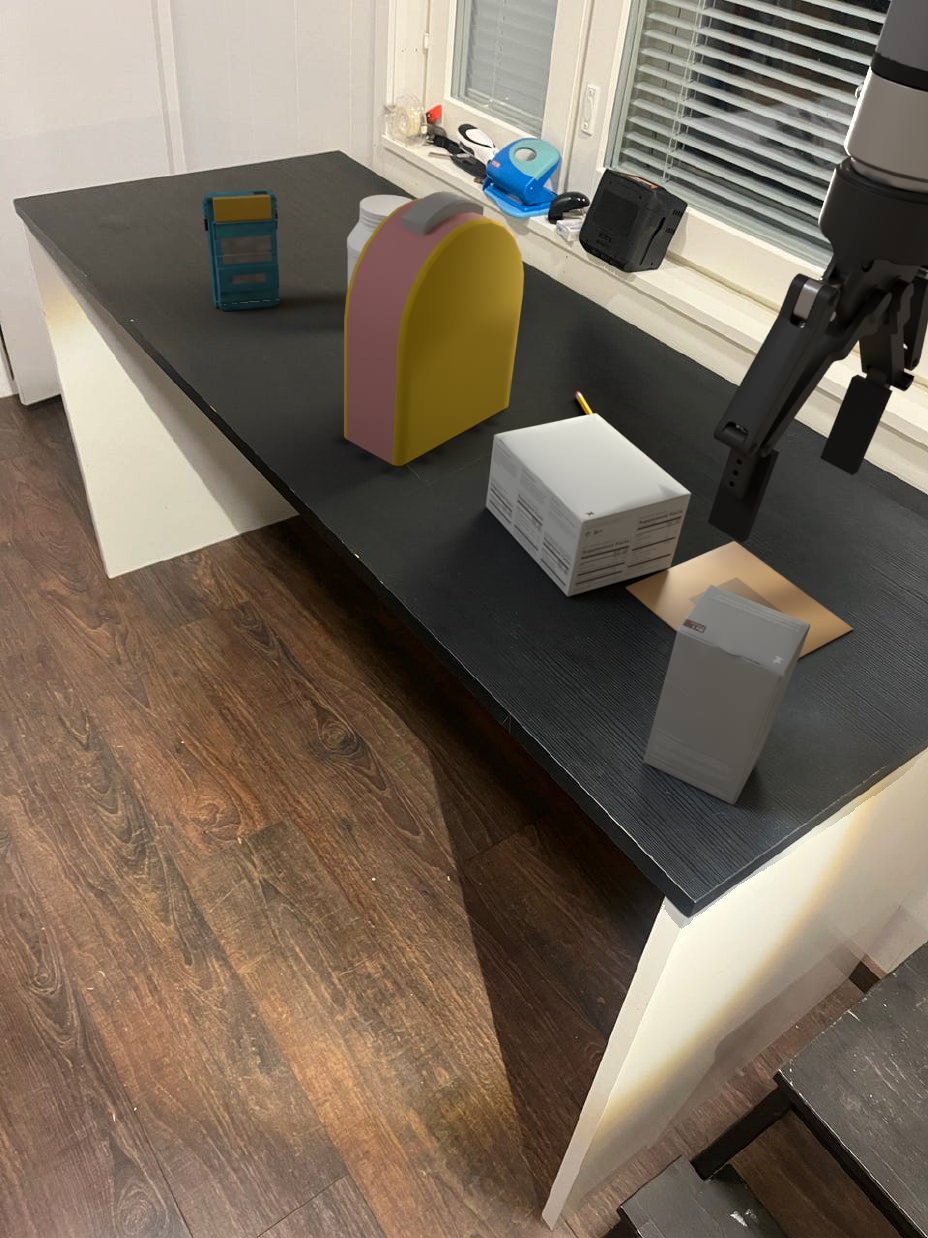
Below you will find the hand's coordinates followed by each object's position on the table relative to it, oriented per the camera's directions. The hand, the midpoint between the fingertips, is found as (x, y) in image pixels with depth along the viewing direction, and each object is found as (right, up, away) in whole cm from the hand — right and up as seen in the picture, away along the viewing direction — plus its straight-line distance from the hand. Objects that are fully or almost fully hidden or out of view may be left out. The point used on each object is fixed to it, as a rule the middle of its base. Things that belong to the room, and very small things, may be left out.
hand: (786, 496), depth 65 cm
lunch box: (-26, +16, +51) cm, 60 cm away
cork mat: (+5, -7, +29) cm, 31 cm away
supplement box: (-10, 0, +36) cm, 37 cm away
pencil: (-6, +16, +54) cm, 56 cm away
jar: (-33, +36, +72) cm, 87 cm away
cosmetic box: (-3, -20, +14) cm, 25 cm away
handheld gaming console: (-53, +36, +70) cm, 95 cm away
